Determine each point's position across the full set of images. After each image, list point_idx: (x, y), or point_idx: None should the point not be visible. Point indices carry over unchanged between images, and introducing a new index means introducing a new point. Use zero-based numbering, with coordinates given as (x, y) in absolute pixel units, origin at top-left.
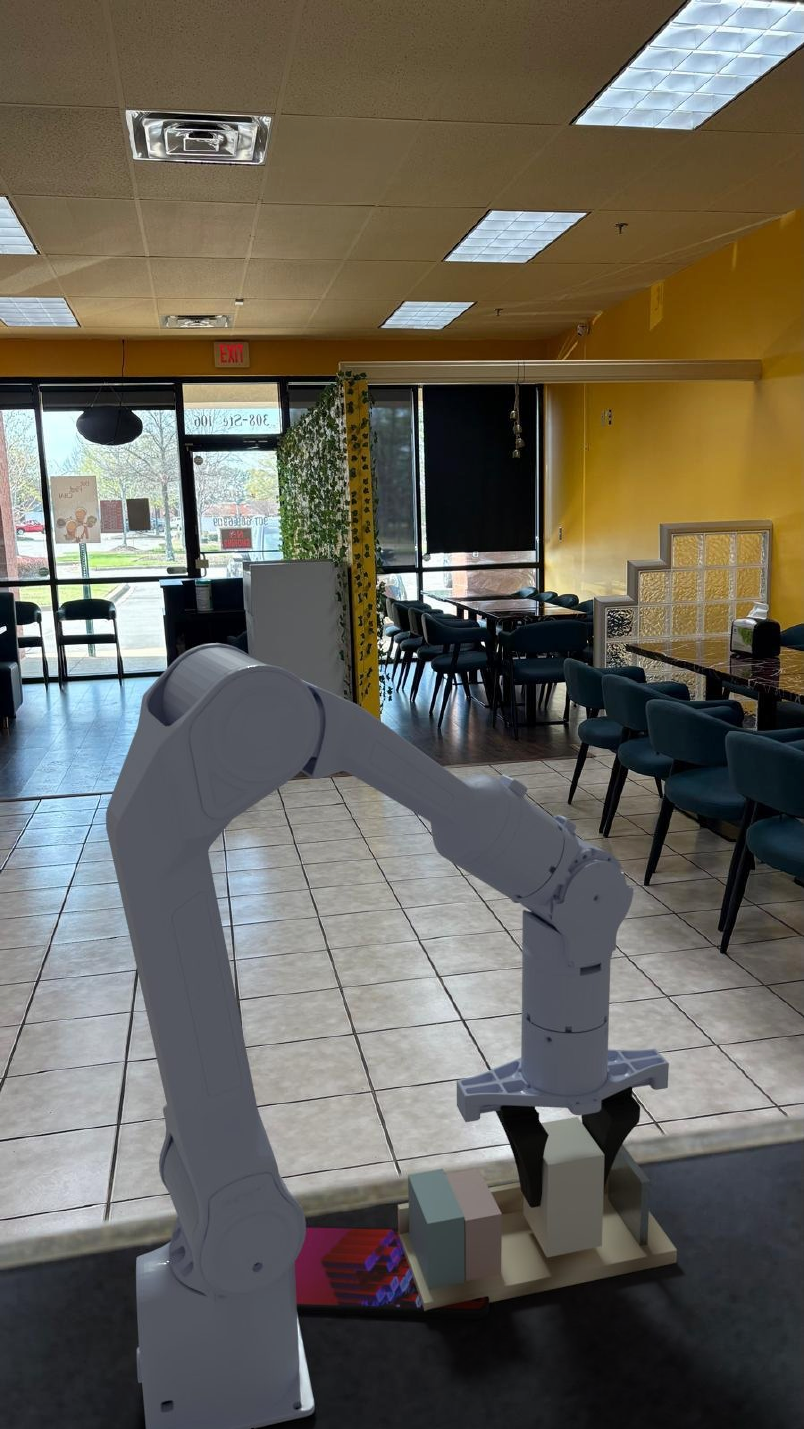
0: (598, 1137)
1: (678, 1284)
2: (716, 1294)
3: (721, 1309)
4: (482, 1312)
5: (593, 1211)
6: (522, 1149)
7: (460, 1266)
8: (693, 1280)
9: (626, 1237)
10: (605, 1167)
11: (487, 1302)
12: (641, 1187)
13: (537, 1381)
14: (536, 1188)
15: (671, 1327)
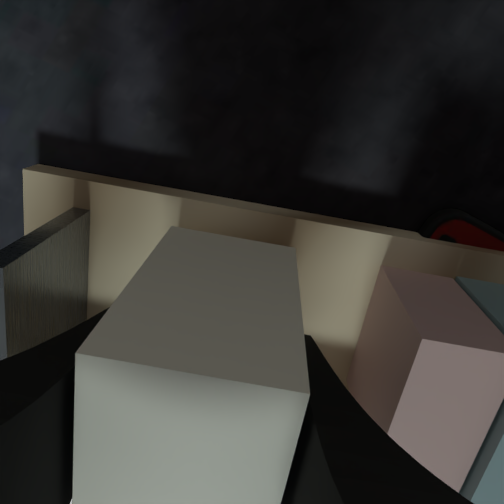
0: (54, 428)
1: (62, 115)
2: (2, 59)
3: (12, 19)
4: (453, 211)
5: (172, 263)
6: (442, 490)
7: (482, 294)
8: (29, 111)
9: (103, 240)
10: (85, 335)
11: (434, 224)
12: (13, 262)
13: (455, 25)
14: (313, 361)
15: (133, 25)
